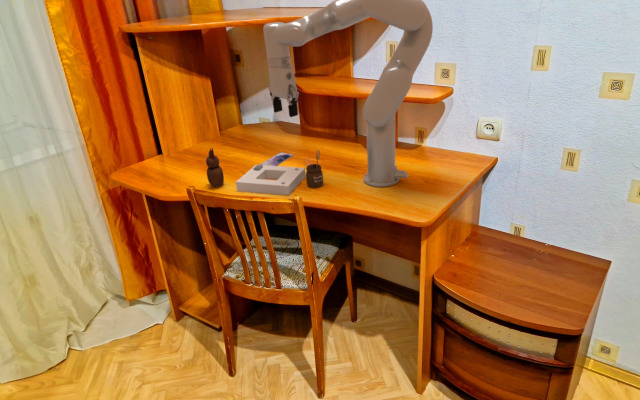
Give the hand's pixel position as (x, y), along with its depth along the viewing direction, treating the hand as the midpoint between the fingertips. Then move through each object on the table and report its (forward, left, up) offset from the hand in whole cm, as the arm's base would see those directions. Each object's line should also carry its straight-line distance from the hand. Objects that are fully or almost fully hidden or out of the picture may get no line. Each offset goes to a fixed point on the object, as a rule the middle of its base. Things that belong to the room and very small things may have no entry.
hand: (285, 113), depth 156 cm
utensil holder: (-10, +4, -25) cm, 27 cm away
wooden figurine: (+26, +11, -25) cm, 37 cm away
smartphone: (+14, -16, -25) cm, 33 cm away
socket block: (+6, +6, -25) cm, 26 cm away
